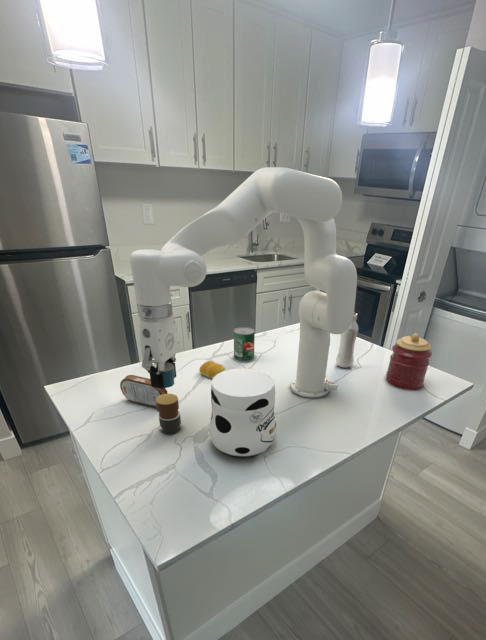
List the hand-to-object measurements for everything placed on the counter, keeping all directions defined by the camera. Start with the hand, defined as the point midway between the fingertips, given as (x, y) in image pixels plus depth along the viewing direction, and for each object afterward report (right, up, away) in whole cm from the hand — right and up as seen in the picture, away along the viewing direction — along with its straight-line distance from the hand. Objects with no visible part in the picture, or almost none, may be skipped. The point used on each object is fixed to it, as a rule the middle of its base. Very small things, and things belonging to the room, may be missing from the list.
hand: (164, 381), depth 95 cm
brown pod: (0, -8, +6) cm, 10 cm away
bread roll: (+6, +7, +38) cm, 39 cm away
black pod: (0, -12, +8) cm, 15 cm away
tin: (-11, -5, +19) cm, 23 cm away
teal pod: (0, -1, 0) cm, 1 cm away
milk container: (+20, -16, +4) cm, 26 cm away
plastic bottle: (+55, +11, +48) cm, 74 cm away
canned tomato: (+17, +15, +51) cm, 55 cm away
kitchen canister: (+74, +4, +39) cm, 84 cm away
